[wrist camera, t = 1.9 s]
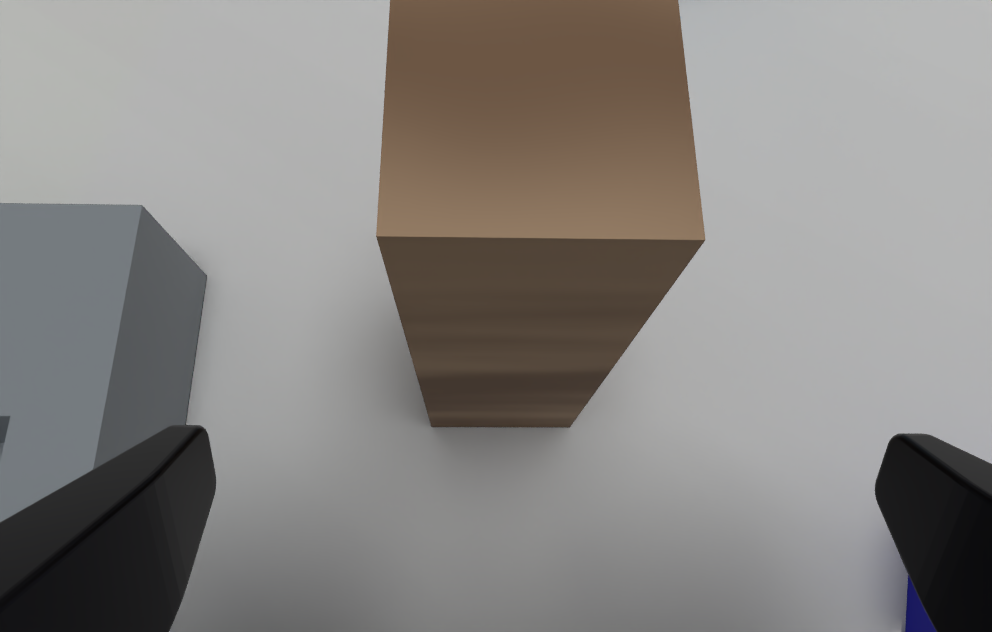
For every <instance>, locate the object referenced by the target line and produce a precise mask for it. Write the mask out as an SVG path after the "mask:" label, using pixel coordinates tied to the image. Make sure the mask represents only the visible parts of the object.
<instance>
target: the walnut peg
mask: <svg viewBox="0 0 992 632" xmlns="http://www.w3.org/2000/svg"><path fill="white" fill-rule="evenodd" d="M376 237H377V240H378V244H379V247H380V251H381V254H382V257H383V261H384V264H385V268H386V271H387V275H388V278H389V282H390V285H391V288H392V292H393V295H394V299H395V302H396V306H397V309H398V313H399V316H400V320H401V323H402V326H403V330H404V333H405V337H406V340H407V344H408V347H409V351H410V354H411V357H412V361H413V364H414V368H415V371H416V375H417V378H418V382H419V385H420V388H421V392H422V395H423V399H424V402H425V406H426V409H427V413H428V416H429V420H430V423H431V426H432V427H570V426H571V425H572V423H573V422H574V421H575V419H576V418H577V416H578V415H579V414H580V412H581V411H582V410H583V408H584V407H585V405H586V404H587V403H588V401H589V400H590V399H591V397H592V396H593V394H594V393H595V392H596V390H597V389H598V387H599V386H600V385H601V383H602V382H603V381H604V379H605V378H606V376H607V375H608V374H609V372H610V371H611V370H612V368H613V367H614V365H615V364H616V363H617V361H618V360H619V358H620V357H621V356H622V354H623V353H624V352H625V350H626V349H627V347H628V346H629V345H630V343H631V342H632V341H633V339H634V338H635V336H636V335H637V334H638V332H639V331H640V329H641V328H642V327H643V325H644V324H645V323H646V321H647V320H648V318H649V317H650V316H651V314H652V313H653V312H654V310H655V309H656V307H657V306H658V305H659V303H660V302H661V300H662V299H663V298H664V296H665V295H666V294H667V292H668V291H669V289H670V288H671V287H672V285H673V284H674V283H675V281H676V280H677V278H678V277H679V276H680V274H681V273H682V271H683V270H684V269H685V267H686V266H687V265H688V263H689V262H690V260H691V259H692V258H693V256H694V255H695V254H696V252H697V251H698V249H699V248H700V247H701V245H702V244H703V242H704V241H705V233H704V224H703V216H702V207H701V198H700V189H699V180H698V172H697V163H696V154H695V145H694V136H693V128H692V119H691V110H690V101H689V92H688V84H687V75H686V66H685V57H684V48H683V40H682V31H681V22H680V13H679V4H678V0H390V13H389V30H388V47H387V64H386V81H385V98H384V115H383V132H382V149H381V166H380V183H379V200H378V217H377V234H376Z"/></svg>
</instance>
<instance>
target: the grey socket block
mask: <svg viewBox="0 0 992 632" xmlns="http://www.w3.org/2000/svg"><path fill="white" fill-rule="evenodd" d="M206 278H207V275H206V274H205V273H204V272H203V271H202V270H201V269H200V268H199V267H198V266H197V264H196V263H195V262H194V261H193V260H192V259H191V258H190V257H189V256H188V255H187V254H186V252H185V251H184V250H183V249H182V248H181V247H180V246H179V245H178V244H177V243H176V242H175V240H174V239H173V238H172V237H171V236H170V235H169V234H168V233H167V232H166V231H165V230H164V229H163V227H162V226H161V225H160V224H159V223H158V222H157V221H156V220H155V219H154V218H153V217H152V215H151V214H150V213H149V212H148V211H147V210H146V209H145V208H144V207H143V206H142V205H100V204H23V203H0V522H1V521H3V520H5V519H7V518H9V517H10V516H12V515H14V514H16V513H17V512H19V511H21V510H23V509H24V508H26V507H28V506H30V505H31V504H33V503H35V502H37V501H38V500H40V499H42V498H44V497H45V496H47V495H49V494H51V493H53V492H54V491H56V490H58V489H60V488H61V487H63V486H65V485H67V484H68V483H70V482H72V481H74V480H75V479H77V478H79V477H81V476H82V475H84V474H86V473H88V472H89V471H91V470H93V469H95V468H96V467H98V466H100V465H102V464H104V463H105V462H107V461H109V460H111V459H112V458H114V457H116V456H118V455H119V454H121V453H123V452H125V451H126V450H128V449H130V448H132V447H133V446H135V445H137V444H139V443H140V442H142V441H144V440H146V439H148V438H149V437H151V436H153V435H155V434H156V433H158V432H160V431H162V430H163V429H165V428H167V427H169V426H172V425H185V423H186V416H187V409H188V402H189V395H190V388H191V382H192V375H193V368H194V361H195V354H196V347H197V340H198V333H199V326H200V319H201V312H202V306H203V299H204V292H205V285H206Z"/></svg>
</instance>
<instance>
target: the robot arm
mask: <svg viewBox="0 0 992 632" xmlns="http://www.w3.org/2000/svg"><path fill="white" fill-rule="evenodd" d="M215 490H216V475H215V469H214V464H213V458H212V453H211V447H210V442H209V437H208V433H207V431H206V429H205V428H203V427H202V426H200V425H172V426H169V427H167V428H165V429H163V430H162V431H160V432H158V433H156V434H155V435H153V436H151V437H149V438H148V439H146V440H144V441H142V442H140V443H139V444H137V445H135V446H133V447H132V448H130V449H128V450H126V451H125V452H123V453H121V454H119V455H118V456H116V457H114V458H112V459H111V460H109V461H107V462H105V463H104V464H102V465H100V466H98V467H96V468H95V469H93V470H91V471H89V472H88V473H86V474H84V475H82V476H81V477H79V478H77V479H75V480H74V481H72V482H70V483H68V484H67V485H65V486H63V487H61V488H60V489H58V490H56V491H54V492H53V493H51V494H49V495H47V496H45V497H44V498H42V499H40V500H38V501H37V502H35V503H33V504H31V505H30V506H28V507H26V508H24V509H23V510H21V511H19V512H17V513H16V514H14V515H12V516H10V517H9V518H7V519H5V520H3V521H1V522H0V632H169V630H170V628H171V626H172V624H173V621H174V619H175V616H176V614H177V611H178V609H179V606H180V604H181V602H182V599H183V596H184V593H185V590H186V587H187V584H188V580H189V577H190V574H191V571H192V567H193V564H194V561H195V557H196V554H197V551H198V548H199V544H200V541H201V538H202V535H203V531H204V528H205V525H206V521H207V518H208V515H209V512H210V508H211V505H212V502H213V499H214V495H215ZM875 495H876V500H877V503H878V505H879V508H880V510H881V512H882V515H883V517H884V519H885V522H886V524H887V526H888V528H889V531H890V533H891V535H892V538H893V540H894V542H895V545H896V547H897V549H898V552H899V554H900V556H901V559H902V561H903V563H904V565H905V568H906V570H907V572H908V575H909V577H910V579H911V582H912V584H913V586H914V589H915V591H916V593H917V595H918V597H919V599H920V601H921V603H922V606H923V607H924V609H925V611H926V613H927V615H928V617H929V619H930V621H931V623H932V624H933V626H934V628H935V630H936V632H992V464H990V463H988V462H986V461H984V460H982V459H980V458H978V457H976V456H974V455H971V454H969V453H967V452H965V451H963V450H961V449H959V448H957V447H955V446H952V445H950V444H948V443H946V442H944V441H942V440H940V439H938V438H936V437H933V436H931V435H928V434H897V435H895V436H893V437H892V438H891V440H890V441H889V443H888V446H887V449H886V452H885V455H884V458H883V461H882V464H881V467H880V470H879V473H878V476H877V479H876V484H875Z"/></svg>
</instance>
